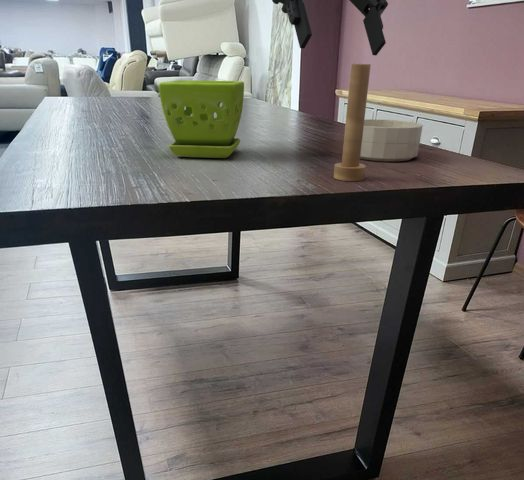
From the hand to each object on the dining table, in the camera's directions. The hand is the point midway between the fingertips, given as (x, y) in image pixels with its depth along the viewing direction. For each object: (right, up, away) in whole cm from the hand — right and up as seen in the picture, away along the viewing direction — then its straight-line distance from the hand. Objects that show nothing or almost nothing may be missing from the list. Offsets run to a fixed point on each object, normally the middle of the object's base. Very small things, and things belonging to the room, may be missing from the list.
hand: (343, 45), depth 77 cm
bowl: (+11, -9, +22) cm, 26 cm away
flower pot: (-24, -10, +19) cm, 32 cm away
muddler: (+1, -20, +3) cm, 20 cm away
